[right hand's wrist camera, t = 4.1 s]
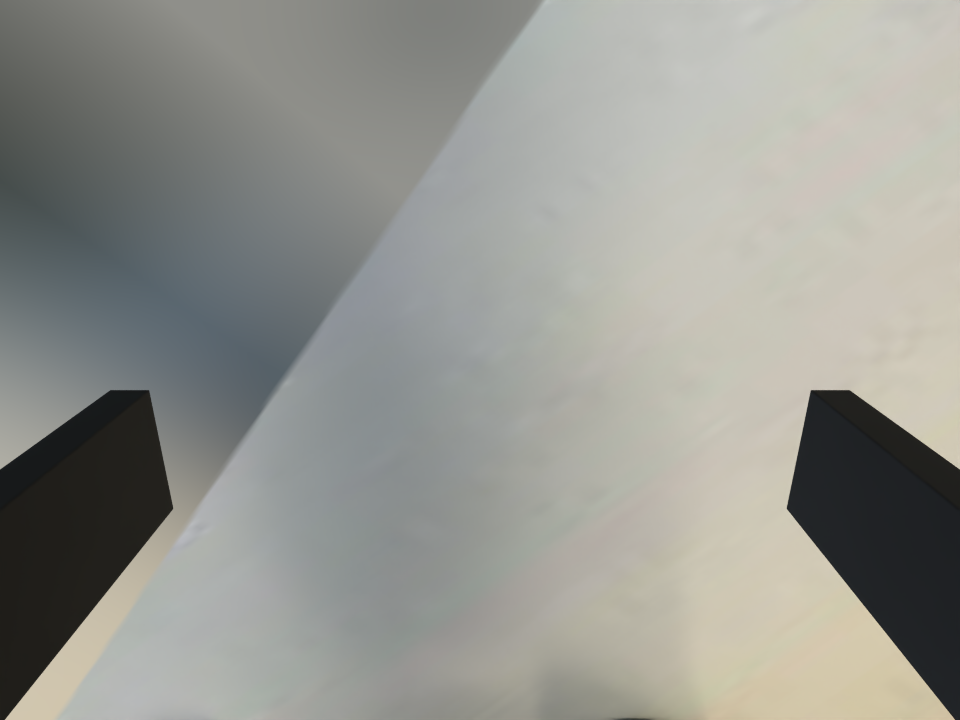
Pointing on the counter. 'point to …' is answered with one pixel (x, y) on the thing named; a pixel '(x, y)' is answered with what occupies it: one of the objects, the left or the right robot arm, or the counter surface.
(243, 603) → the counter surface
